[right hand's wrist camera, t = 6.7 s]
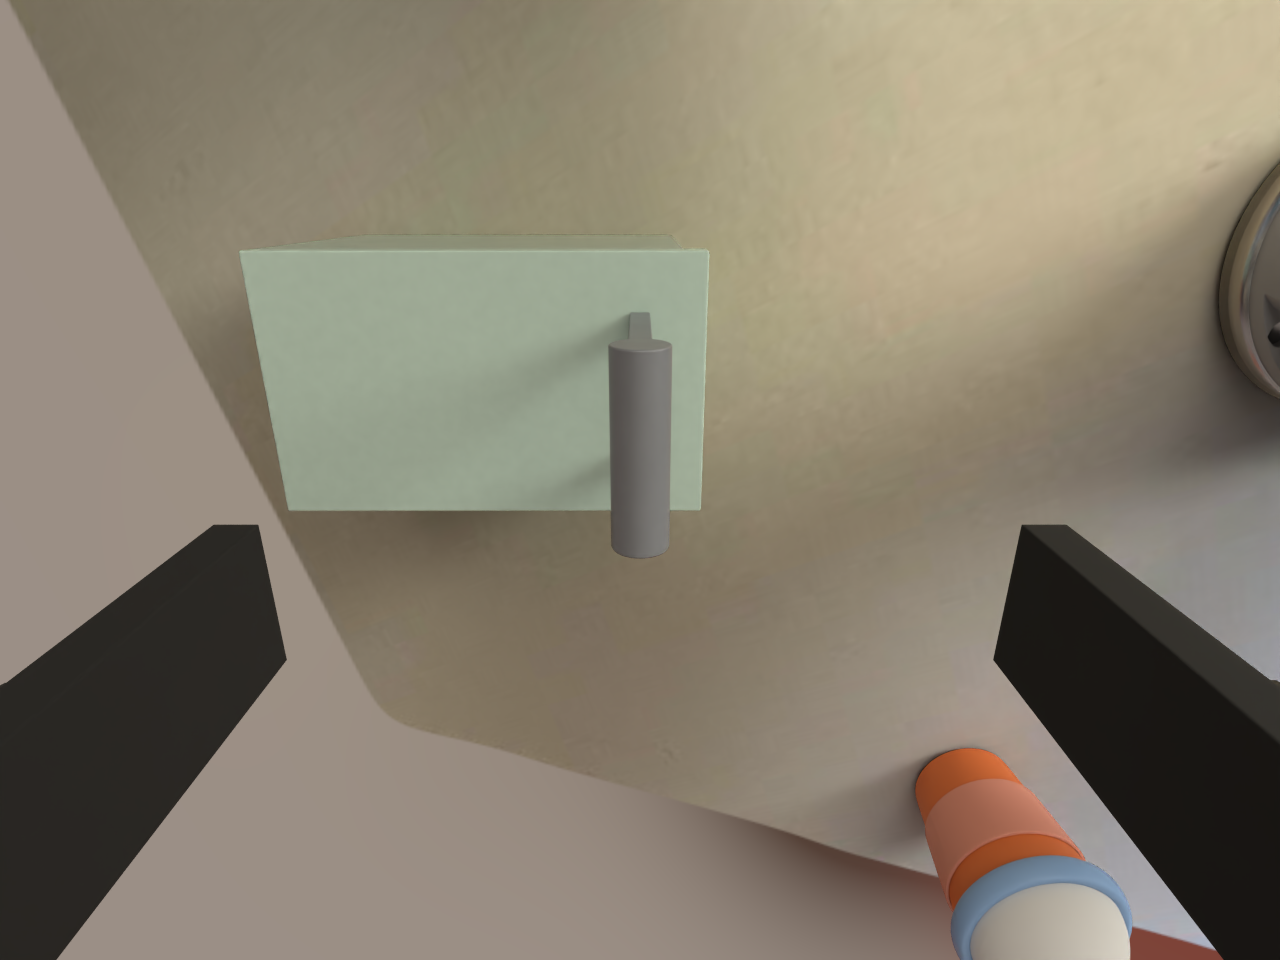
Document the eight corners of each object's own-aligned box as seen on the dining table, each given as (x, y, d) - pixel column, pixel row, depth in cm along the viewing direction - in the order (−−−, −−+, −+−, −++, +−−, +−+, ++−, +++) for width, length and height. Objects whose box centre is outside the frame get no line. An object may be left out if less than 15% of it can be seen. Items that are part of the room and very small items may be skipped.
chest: (671, 234, 35) (684, 248, 25) (668, 422, 39) (678, 499, 29) (363, 234, 35) (254, 248, 25) (388, 422, 39) (300, 500, 29)
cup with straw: (883, 835, 49) (1010, 1165, 32) (900, 727, 46) (1051, 1032, 29) (1017, 835, 49) (1213, 1165, 32) (1044, 727, 46) (1277, 1032, 29)
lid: (706, 248, 25) (738, 271, 17) (698, 500, 29) (721, 617, 21) (253, 248, 25) (72, 271, 17) (300, 500, 29) (167, 618, 21)
